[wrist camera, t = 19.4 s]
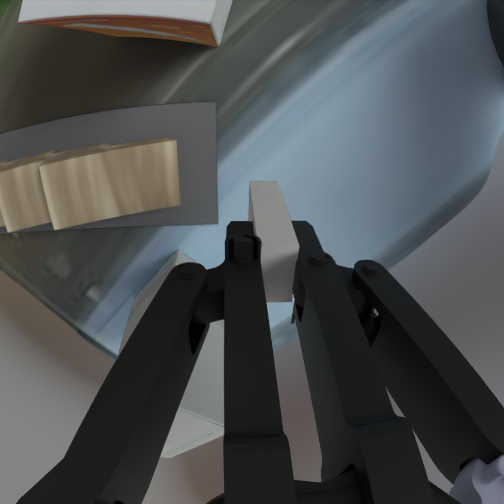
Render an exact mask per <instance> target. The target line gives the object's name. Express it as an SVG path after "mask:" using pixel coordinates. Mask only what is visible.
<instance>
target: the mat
mask: <svg viewBox="0 0 504 504" xmlns="http://www.w3.org/2000/svg"><path fill="white" fill-rule="evenodd" d="M172 136H173V137H174V138H175V140H176V141H177V160H178V176H179V190H180V203H181V205H178V206H172V207H166V208H161V209H155V210H150V211H144V212H139V213H134V214H129V215H123V216H118V217H113V218H108V219H103V220H99V221H94V222H89V223H84V224H80V225H75V226H71V227H66V228H62V229H58V230H67V229H86V228H108V227H132V226H161V225H197V224H218V200H217V145H216V101H211V102H187V103H171V104H158V105H147V106H138V107H129V108H121V109H114V110H107V111H100V112H94V113H88V114H82V115H77V116H71V117H66V118H61V119H56V120H52V121H47V122H43V123H39V124H35V125H31V126H27V127H23V128H19V129H15V130H12V131H8V132H5V133H1V134H0V162H2V161H6V160H9V162H10V161H14V160H17V159H21V158H24V157H28V156H32V155H35V154H39V153H43V152H47V151H51V150H55V149H57V153H59V152H63V151H68V150H72V149H77V148H82V147H87V146H92V145H97V144H102V143H108V142H111V146H113V145H119V144H125V143H131V142H137V141H143V140H150V139H157V138H165V137H172ZM49 230H54V227H53V224H52V222H49V223H45V224H41V225H37V226H33V227H28V228H24V229H20V230H16V231H13V232H9V233H18V232H33V231H49ZM4 233H8V232H7V229H6V226H2V227H0V234H4Z"/></svg>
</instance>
